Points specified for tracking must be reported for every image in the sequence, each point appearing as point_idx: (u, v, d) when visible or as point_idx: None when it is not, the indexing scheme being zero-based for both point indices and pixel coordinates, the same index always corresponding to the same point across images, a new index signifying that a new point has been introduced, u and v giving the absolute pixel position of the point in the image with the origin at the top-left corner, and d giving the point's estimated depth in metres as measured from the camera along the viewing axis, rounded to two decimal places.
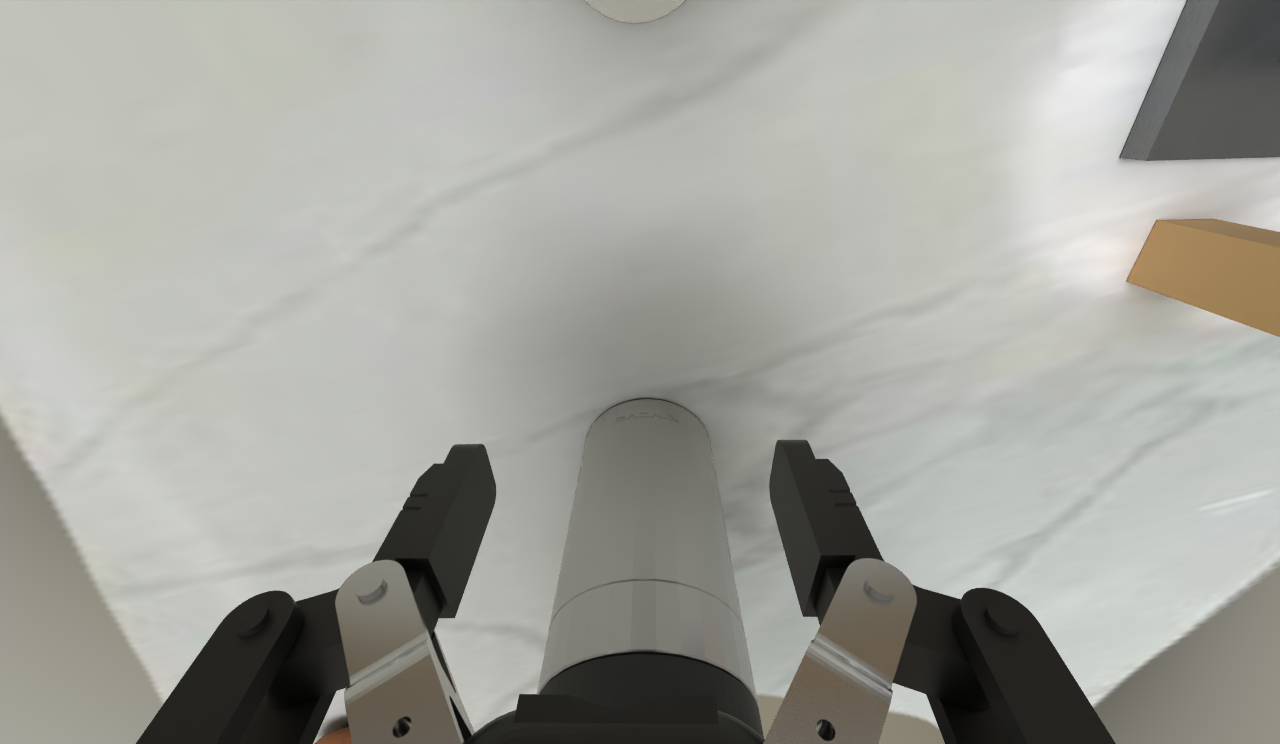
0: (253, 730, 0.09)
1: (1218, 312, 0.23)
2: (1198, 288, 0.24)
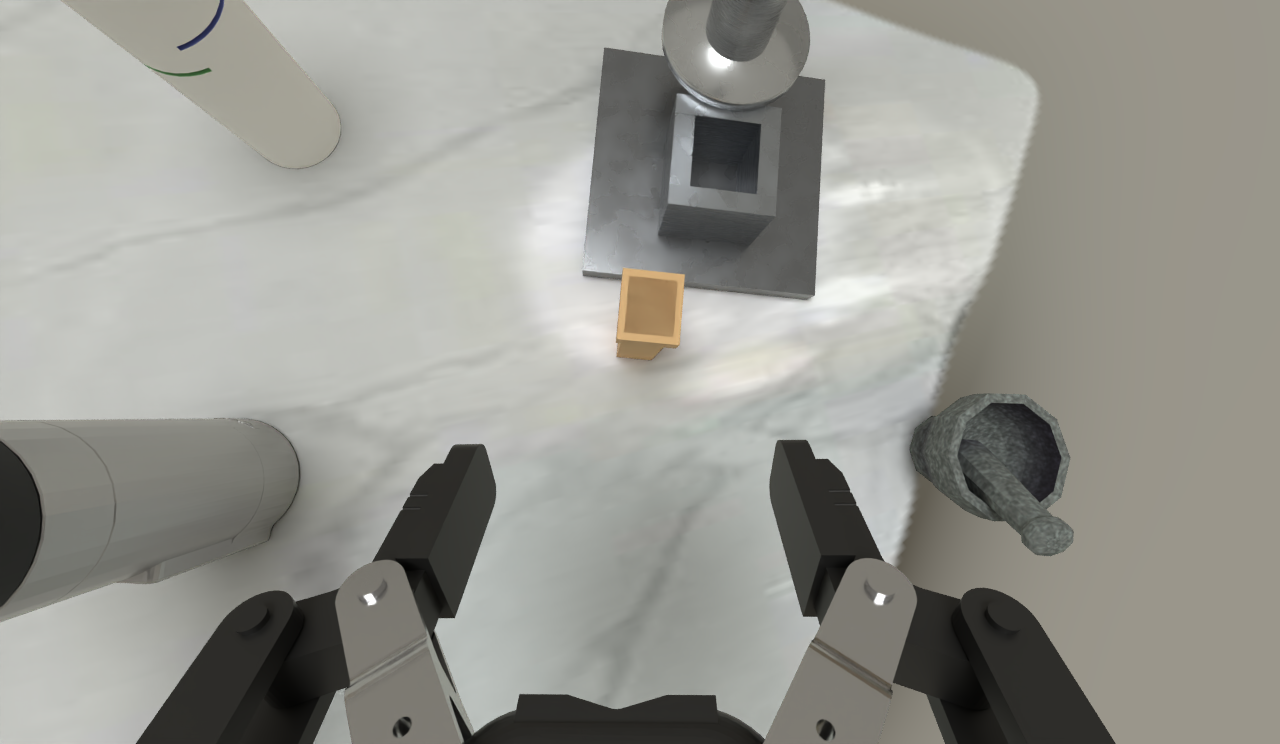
0: (253, 730, 0.09)
1: (619, 347, 0.35)
2: None
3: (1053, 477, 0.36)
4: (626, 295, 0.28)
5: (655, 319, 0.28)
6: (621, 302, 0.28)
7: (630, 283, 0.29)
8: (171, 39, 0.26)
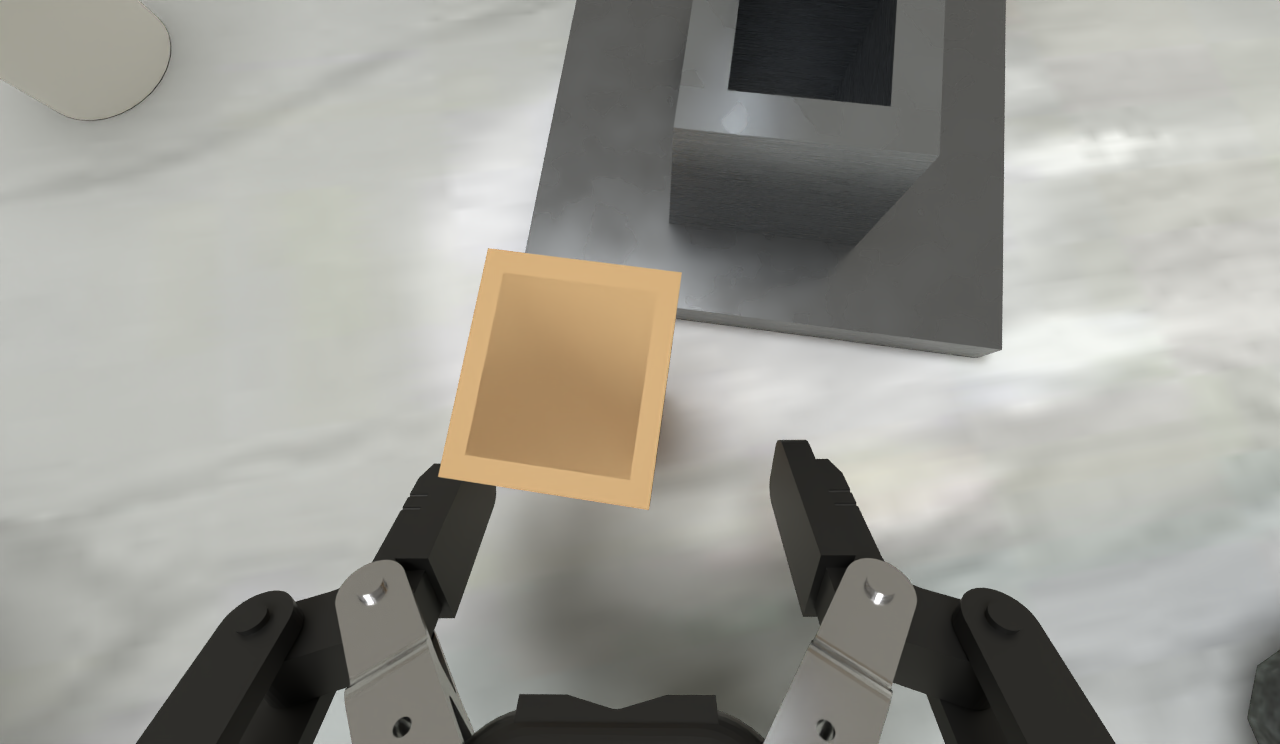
0: (253, 730, 0.09)
1: None
2: None
3: None
4: (488, 333, 0.09)
5: (573, 415, 0.09)
6: (469, 355, 0.09)
7: (504, 296, 0.09)
8: None
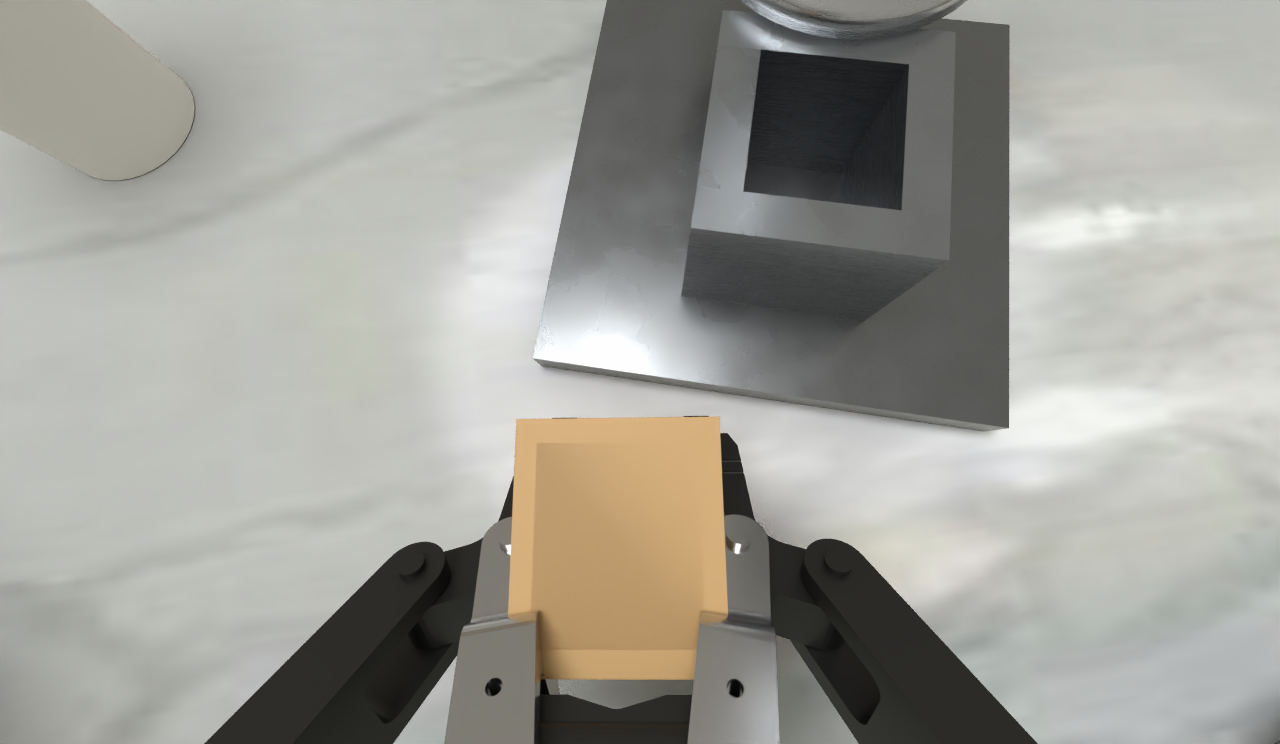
0: (393, 656, 0.10)
1: None
2: None
3: None
4: (531, 512, 0.08)
5: (635, 588, 0.08)
6: (516, 538, 0.08)
7: (542, 469, 0.09)
8: None
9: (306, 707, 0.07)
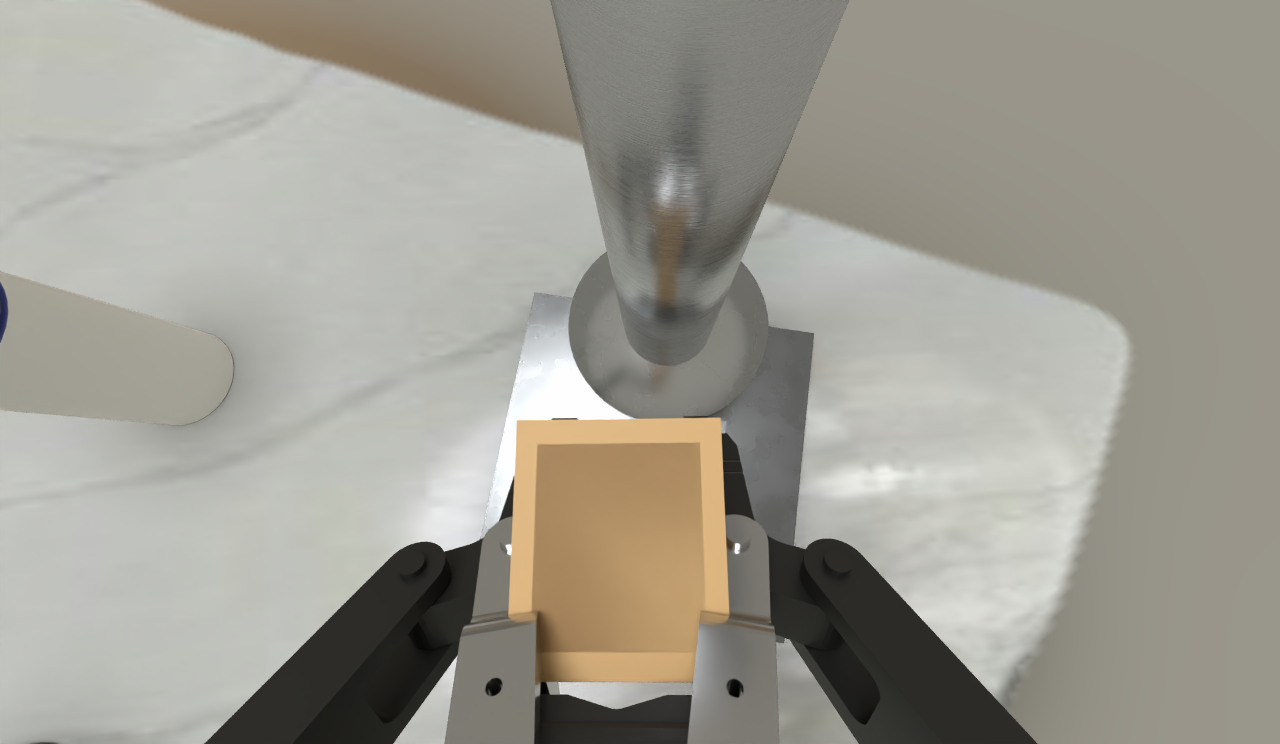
0: (393, 656, 0.10)
1: None
2: None
3: None
4: (532, 514, 0.08)
5: (636, 590, 0.08)
6: (516, 540, 0.08)
7: (543, 470, 0.09)
8: None
9: (306, 708, 0.07)
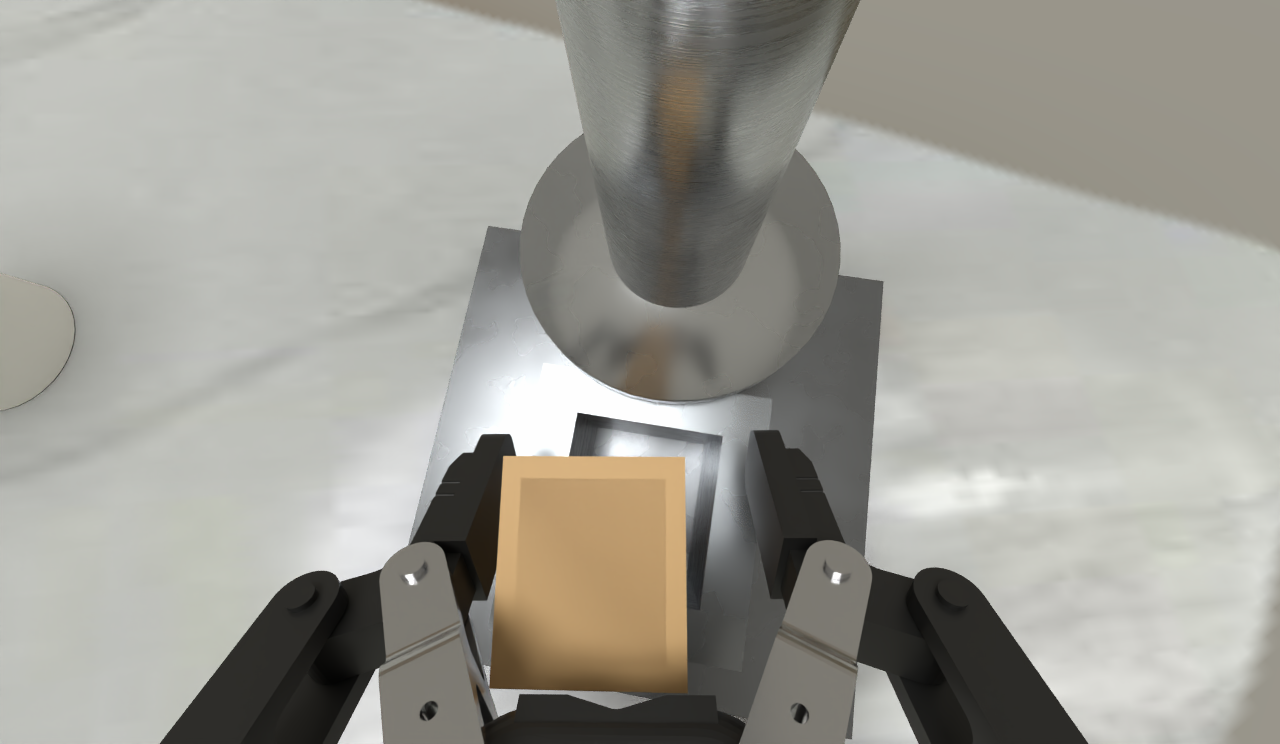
0: (295, 702, 0.09)
1: None
2: None
3: None
4: (515, 540, 0.10)
5: (605, 610, 0.09)
6: (501, 563, 0.09)
7: (525, 501, 0.10)
8: None
9: None
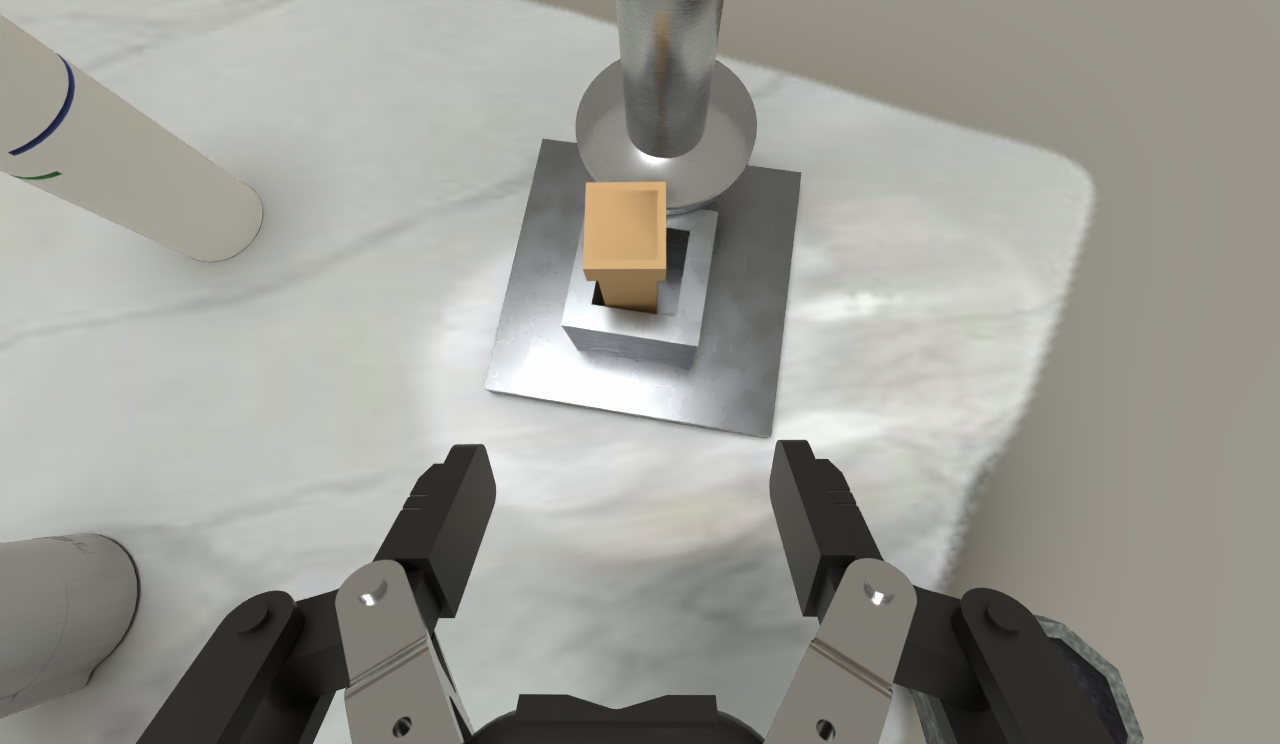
0: (253, 730, 0.09)
1: None
2: None
3: None
4: (592, 214, 0.22)
5: (631, 239, 0.22)
6: (586, 224, 0.22)
7: (596, 199, 0.22)
8: None
9: None
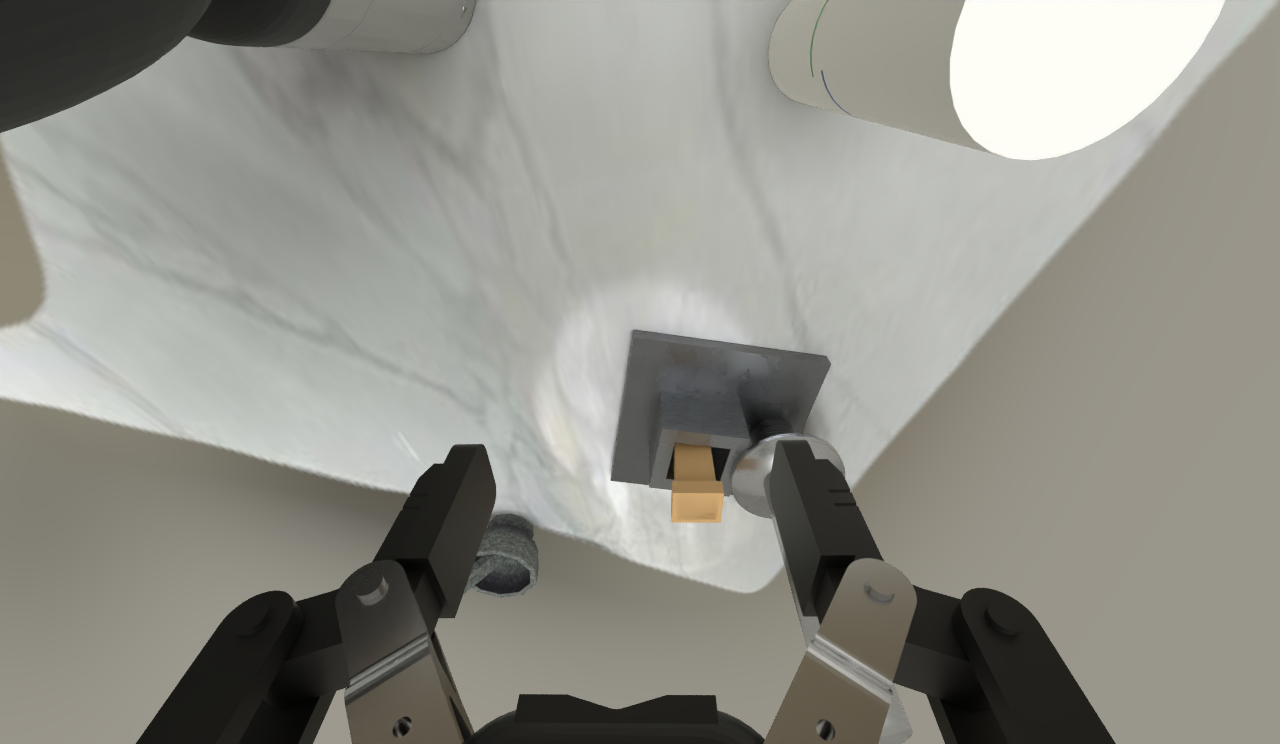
0: (253, 730, 0.09)
1: (675, 442, 0.46)
2: None
3: (488, 589, 0.61)
4: (704, 496, 0.41)
5: (688, 510, 0.42)
6: (699, 493, 0.40)
7: (712, 497, 0.41)
8: (826, 73, 0.24)
9: None
